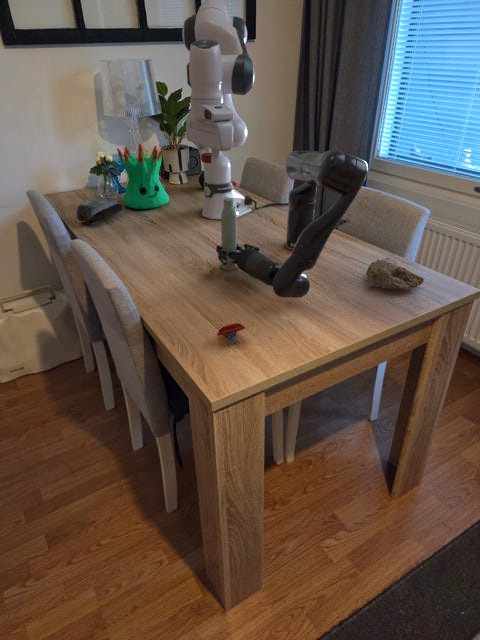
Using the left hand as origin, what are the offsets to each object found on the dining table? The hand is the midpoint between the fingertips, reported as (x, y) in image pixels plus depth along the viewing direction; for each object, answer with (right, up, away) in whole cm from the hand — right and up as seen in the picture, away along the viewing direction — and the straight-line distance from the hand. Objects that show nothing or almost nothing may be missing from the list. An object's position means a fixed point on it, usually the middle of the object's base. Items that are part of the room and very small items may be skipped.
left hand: (208, 162), depth 129 cm
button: (+7, -51, -19) cm, 55 cm away
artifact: (+55, -34, +9) cm, 65 cm away
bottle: (+6, -28, +18) cm, 34 cm away
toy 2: (-5, +21, +97) cm, 100 cm away
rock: (-49, -4, +56) cm, 75 cm away
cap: (0, +2, -1) cm, 2 cm away
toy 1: (-34, +7, +75) cm, 83 cm away
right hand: (+4, -22, +16) cm, 28 cm away
